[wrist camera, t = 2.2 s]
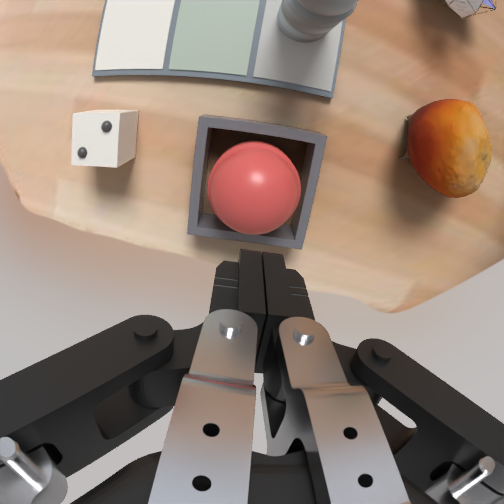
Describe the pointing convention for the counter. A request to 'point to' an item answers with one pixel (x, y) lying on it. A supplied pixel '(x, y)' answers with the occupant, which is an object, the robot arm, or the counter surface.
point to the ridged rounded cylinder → (312, 17)
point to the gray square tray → (309, 177)
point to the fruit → (449, 146)
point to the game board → (214, 44)
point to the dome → (254, 187)
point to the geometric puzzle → (467, 6)
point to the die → (104, 137)
